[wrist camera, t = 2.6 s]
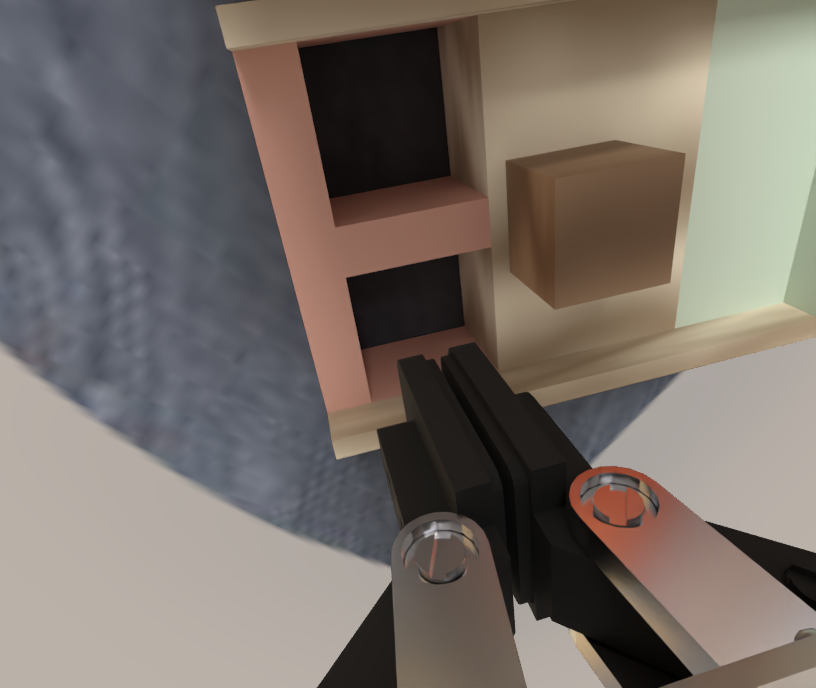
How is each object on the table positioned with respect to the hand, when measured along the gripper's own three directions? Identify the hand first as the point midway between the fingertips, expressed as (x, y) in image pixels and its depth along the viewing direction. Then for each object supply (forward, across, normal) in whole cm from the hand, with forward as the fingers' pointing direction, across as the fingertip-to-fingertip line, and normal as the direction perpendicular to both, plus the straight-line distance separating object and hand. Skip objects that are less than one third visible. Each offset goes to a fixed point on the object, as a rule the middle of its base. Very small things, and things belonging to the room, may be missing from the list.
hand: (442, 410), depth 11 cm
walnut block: (+10, -8, -1) cm, 13 cm away
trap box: (+15, -9, -1) cm, 18 cm away
